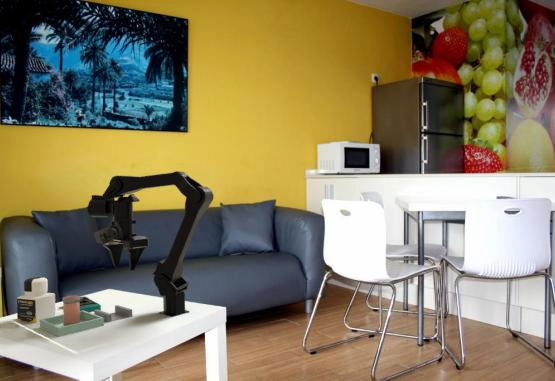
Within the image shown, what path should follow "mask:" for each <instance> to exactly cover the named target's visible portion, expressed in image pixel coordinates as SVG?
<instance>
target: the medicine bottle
mask: <svg viewBox="0 0 555 381" xmlns="http://www.w3.org/2000/svg"><path fill="white" fill-rule="evenodd" d="M48 283H49V282H48V279H47V278H46V277H43V276H35V277H29V278H27V279H24V281H23V289H24V290H23V293H24V294H23V295H20V296H17V298H16V312H17V314H16V316H17V317H16V318H17V319H16V320H17V322H23V323H25V322H26V323H32V324H36V323H40V319H45V318H50V317H54V316H57V315H56V294H55V293H54V292H48V290H49V287H48V286H49V285H48Z"/></svg>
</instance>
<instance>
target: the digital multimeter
mask: <svg viewBox="0 0 555 381" xmlns="http://www.w3.org/2000/svg"><path fill="white" fill-rule="evenodd" d="M83 310H84V311H86V312H89V313H92V312H94V310H101V311H102V305H101V304H100V303H99V302H97V301H94V300H92V299H90V298H89V297H87V296H80V311H83Z"/></svg>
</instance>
